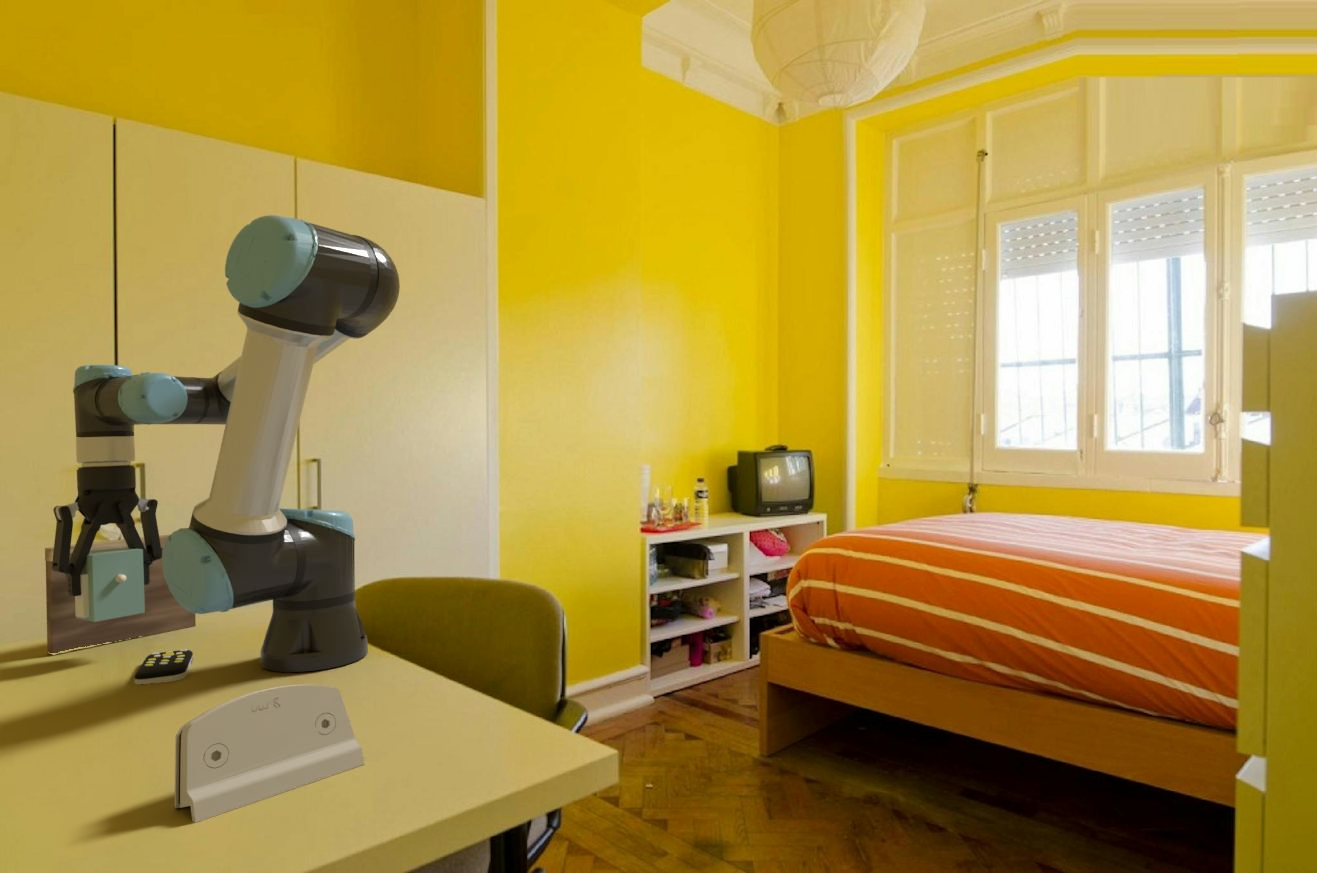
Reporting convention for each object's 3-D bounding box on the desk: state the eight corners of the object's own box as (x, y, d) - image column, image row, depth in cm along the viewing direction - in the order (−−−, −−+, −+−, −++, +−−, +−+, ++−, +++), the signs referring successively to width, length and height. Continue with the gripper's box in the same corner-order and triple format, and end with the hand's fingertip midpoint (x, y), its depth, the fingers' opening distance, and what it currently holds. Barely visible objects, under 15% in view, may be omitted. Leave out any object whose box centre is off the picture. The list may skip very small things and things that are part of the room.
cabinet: (148, 613, 124) (146, 549, 124) (97, 622, 118) (95, 555, 118) (114, 607, 130) (112, 546, 130) (64, 615, 124) (62, 552, 124)
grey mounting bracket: (190, 824, 70) (175, 709, 72) (173, 826, 73) (159, 716, 75) (368, 763, 82) (350, 667, 84) (347, 767, 85) (331, 674, 87)
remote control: (132, 689, 109) (132, 675, 109) (147, 665, 121) (147, 652, 121) (184, 682, 112) (184, 668, 112) (194, 659, 123) (193, 647, 123)
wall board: (196, 626, 144) (194, 532, 144) (53, 655, 125) (51, 548, 125) (189, 624, 145) (187, 532, 145) (46, 653, 126) (44, 547, 126)
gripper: (162, 462, 134) (166, 597, 133) (18, 468, 117) (23, 622, 117) (185, 461, 130) (189, 601, 129) (40, 467, 113) (45, 627, 113)
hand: (110, 611), depth 123 cm, fingers closed on cabinet, 7 cm apart
